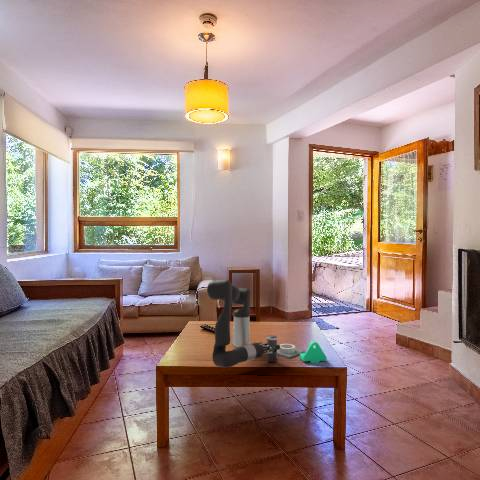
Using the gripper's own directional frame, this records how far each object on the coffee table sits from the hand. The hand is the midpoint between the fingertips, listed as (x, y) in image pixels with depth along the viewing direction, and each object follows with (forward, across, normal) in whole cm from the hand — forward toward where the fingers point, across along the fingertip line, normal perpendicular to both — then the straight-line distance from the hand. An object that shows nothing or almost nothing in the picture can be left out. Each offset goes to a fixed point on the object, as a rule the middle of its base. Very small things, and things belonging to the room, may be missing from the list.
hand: (275, 345), depth 193 cm
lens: (-3, 0, +7) cm, 7 cm away
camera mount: (+16, -12, +8) cm, 21 cm away
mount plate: (+14, +5, +8) cm, 17 cm away
